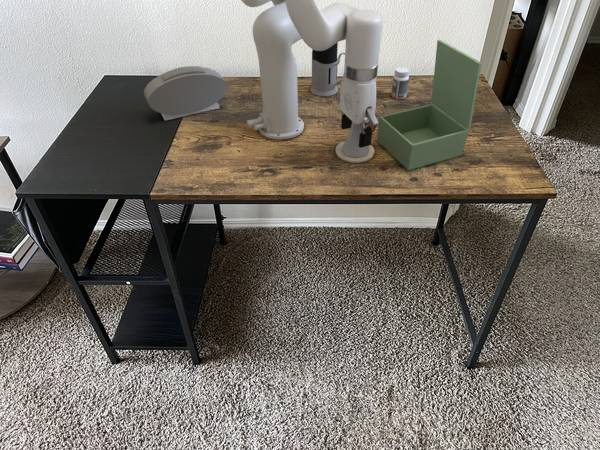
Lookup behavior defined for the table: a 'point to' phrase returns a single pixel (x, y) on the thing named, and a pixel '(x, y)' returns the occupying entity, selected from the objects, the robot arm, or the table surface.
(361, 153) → the flask
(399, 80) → the pill bottle
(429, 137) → the box
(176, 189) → the table surface
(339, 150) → the coaster
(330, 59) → the glass holder
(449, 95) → the box lid
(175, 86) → the alarm clock
